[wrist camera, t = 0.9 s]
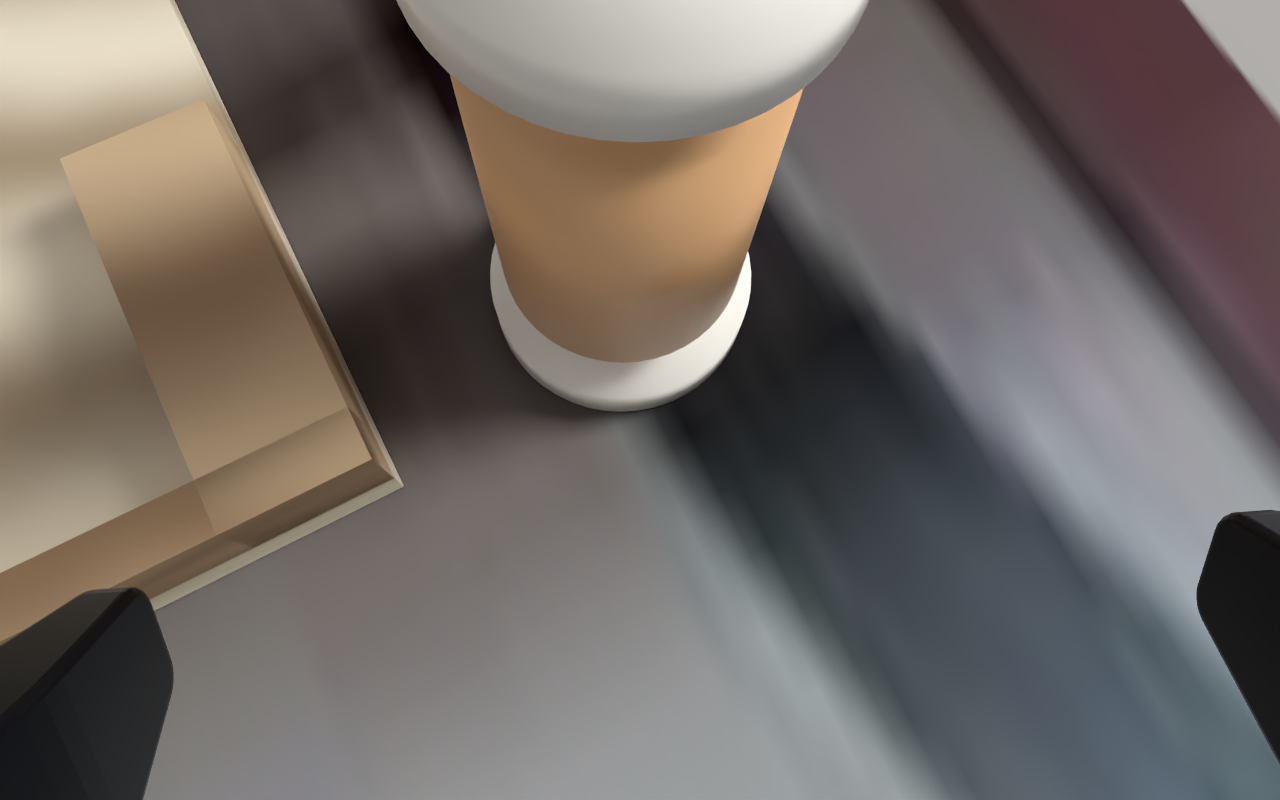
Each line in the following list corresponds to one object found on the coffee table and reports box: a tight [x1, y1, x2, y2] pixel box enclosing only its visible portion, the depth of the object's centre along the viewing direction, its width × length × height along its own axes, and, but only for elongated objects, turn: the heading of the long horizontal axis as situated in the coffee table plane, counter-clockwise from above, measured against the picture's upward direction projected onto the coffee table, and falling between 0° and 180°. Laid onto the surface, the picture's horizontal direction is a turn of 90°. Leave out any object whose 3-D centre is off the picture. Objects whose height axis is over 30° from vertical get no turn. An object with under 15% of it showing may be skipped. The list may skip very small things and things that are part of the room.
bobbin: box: [396, 0, 869, 412], centre depth 16 cm, size 6×6×13 cm
